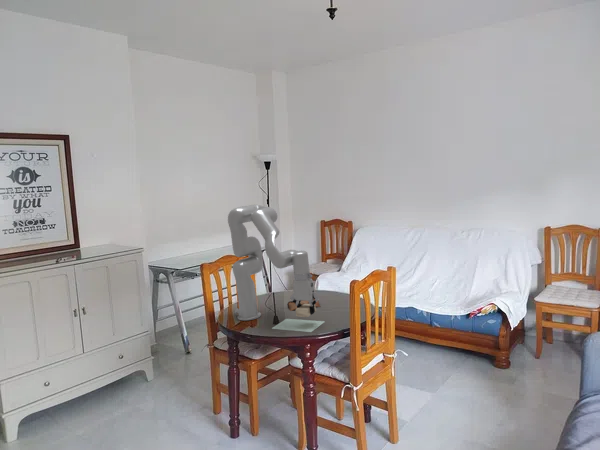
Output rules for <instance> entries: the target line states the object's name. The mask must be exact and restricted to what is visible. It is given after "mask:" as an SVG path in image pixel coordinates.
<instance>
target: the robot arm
mask: <svg viewBox="0 0 600 450" xmlns="http://www.w3.org/2000/svg"><path fill="white" fill-rule="evenodd" d="M277 219H278V212H277V211H276V209H274V208H273V207H270V206H265V205H260V204H248V205H243V206H242V205H241V206H238V207H234V208H233V209H231V210H230V211H229V213H228V215H227V224H228V228H229V230H230V235H231V236H230V237H231V243H232V244H231V245H232V250H233V254H234V256H235V257H238V258H241V259H238V260H237V261H235V262H234V263H233V265H232V272H233V276H234V280H235V284H236V291H237V300H238V307H239V308H238V307H237V308H235V310H234V314H238V315H237V320H238V321H251V320H255V319H256V320H257V319H259V318H260V317H261V316H262V313H261V312H260V311H258V302H257V295H256V285H255V282H254V280H253V278H252V275H256V274H258V273H260V272H261V271H262V270H263V267H264V261H263V254H262V253H263V252H262V246H261V242H260V240H259V239H258V238H257V237H256V236H253V235H252V236H248V230H247V228H246V226H245V224H244V223H250V222H251V223H252V224H253V225H254V226H255V227H256V229H257V231H258V232H259V234H261V236H262V238H263V239H264V241H265V242H264V248H265V253H266V256H267V258H268V259H269V261H270V262H271V264H273V266H274V267H275V268H277V269H285V268H287V267H291V266H293V267H292V268H293V276H294V277H293V278H294V280H293V284H292V285H293V287H292V290H293V292H292V295H291V296H290V298H289V299H290V300H291V301H293V302H294V303H295V304H296V306H297V308H299V307H300V306H302V305H301V304H300V303H301V300H302V301H309V304H310V314H311V315H310V316H312V315H314V314H315V313H316V312H315V308H314V305H315V304H316V302H317V301H319V300H320V297H319V296H318V295H317V294H316V288H315V284H314V281H313V279H312V278H313V274H311V272H310V263H309V255H308V251H307V250H295V249H288V250H283V251H281V252H280V251H279V249H278V247H276V244H275V240H276V239H277V238H278V236H279V235H280V230H279V228H278V227H277V225H276V224H275V222H276V221H277ZM247 256H248V257H247ZM243 257H245V258H243ZM313 298H315V300H313Z"/></svg>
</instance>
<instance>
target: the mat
mask: <svg viewBox="0 0 600 450" xmlns="http://www.w3.org/2000/svg"><path fill="white" fill-rule="evenodd" d="M324 323H326V322H325V321H324V320H309V319H299V318H297V319H296V318H295V319H294V318H285V319H284V320H282V321H281V322H279V323H278V324H276V325H275V326H273V327H271V329H272V330H281V331H282V330H283V331H293V332H294V331H295V332H303V333H304V332H305V333H306V332H307V333H312V332H313V331H315V330H316V329H317V328H319V327H320V326H321V325H323V324H324Z"/></svg>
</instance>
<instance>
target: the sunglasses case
mask: <svg viewBox="0 0 600 450" xmlns="http://www.w3.org/2000/svg"><path fill="white" fill-rule="evenodd" d="M313 300H315V298H313ZM300 304H301V305H303V304H309V301H302V300H301V303H300ZM315 306H316V308H321V307H322V306H321V305H320V302H319V300H318V301H317V302H316V304H315ZM287 309H288V310H289V311H290V312H294V311H295V312H296V309H297V306H296V304H295V303H294V302H293V301H292V300H291V301H288V302H287Z"/></svg>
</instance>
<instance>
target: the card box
mask: <svg viewBox="0 0 600 450" xmlns="http://www.w3.org/2000/svg"><path fill="white" fill-rule="evenodd" d="M314 308H315V312H314V313H316V312H317V307H316V306H315V305H314ZM295 314H296V315H295V316H296V317H301V318H302V317H303V318H308V317H310V316H312V315H311V314H310V304H303V305H302V306H300V307H299V308H297V309H296V310H295Z"/></svg>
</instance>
